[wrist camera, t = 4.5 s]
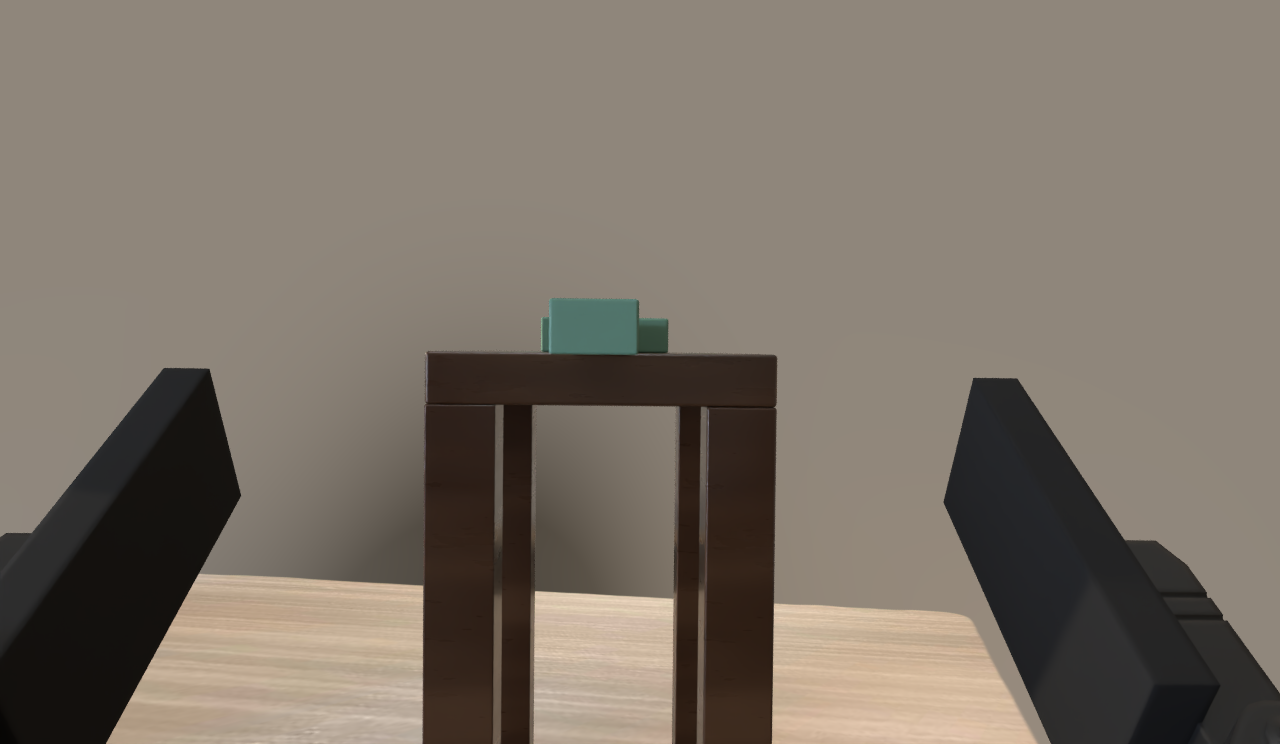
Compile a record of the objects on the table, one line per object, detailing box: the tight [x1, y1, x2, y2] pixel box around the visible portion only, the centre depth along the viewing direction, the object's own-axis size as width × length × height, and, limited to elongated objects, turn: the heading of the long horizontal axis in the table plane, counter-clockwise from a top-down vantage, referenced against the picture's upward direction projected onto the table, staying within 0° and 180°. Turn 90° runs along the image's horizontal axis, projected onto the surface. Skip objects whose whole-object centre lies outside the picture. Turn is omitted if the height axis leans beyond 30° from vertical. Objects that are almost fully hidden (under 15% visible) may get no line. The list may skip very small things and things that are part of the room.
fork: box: [541, 298, 668, 355], centre depth 28 cm, size 22×4×1 cm, turn 1°
